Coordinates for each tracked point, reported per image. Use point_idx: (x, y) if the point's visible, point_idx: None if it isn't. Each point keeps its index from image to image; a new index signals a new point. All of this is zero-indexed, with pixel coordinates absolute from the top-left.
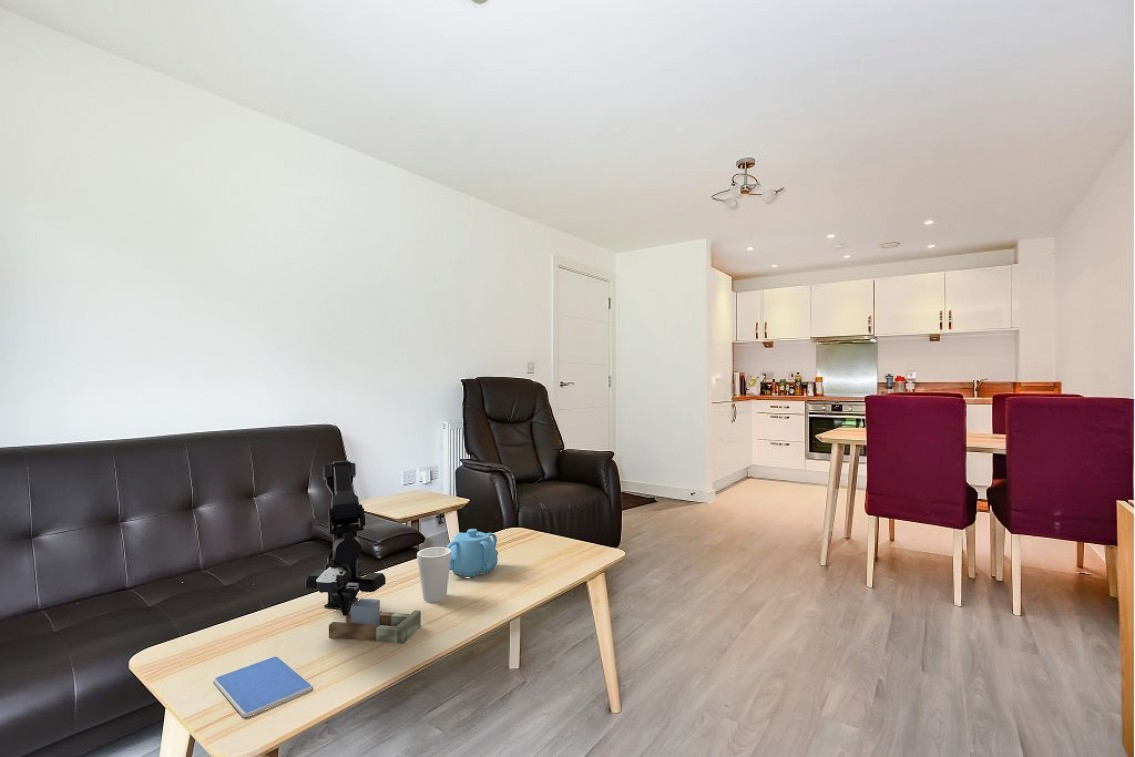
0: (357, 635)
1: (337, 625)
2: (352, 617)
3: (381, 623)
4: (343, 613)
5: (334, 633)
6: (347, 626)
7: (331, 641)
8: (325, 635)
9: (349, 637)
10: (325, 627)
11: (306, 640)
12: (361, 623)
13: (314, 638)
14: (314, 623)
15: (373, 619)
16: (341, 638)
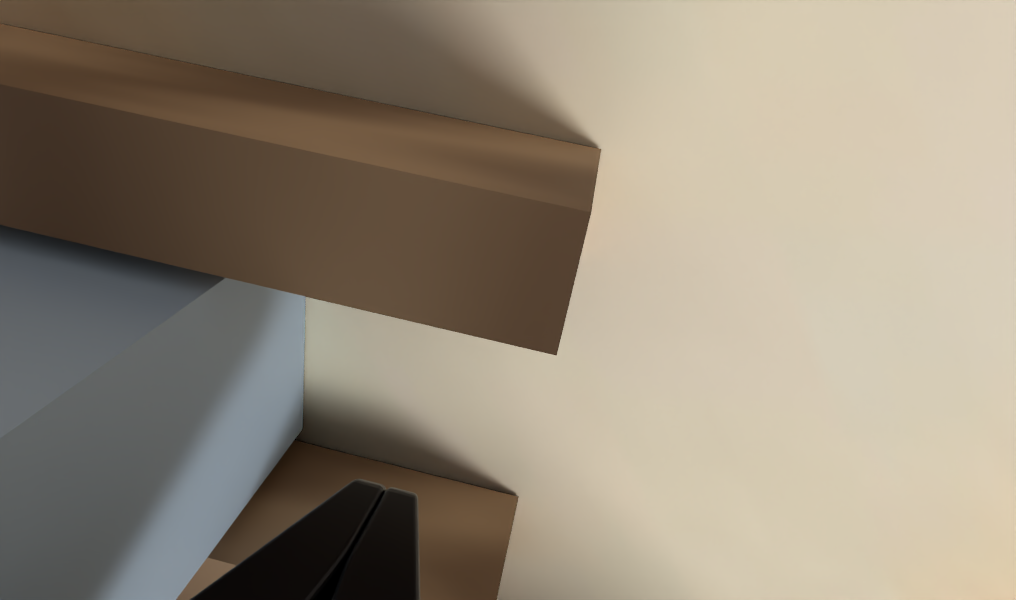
0: (69, 54)
1: (383, 174)
2: (104, 336)
3: None
4: (388, 518)
5: (485, 141)
6: (149, 114)
7: (498, 6)
8: (685, 226)
9: (236, 79)
10: (774, 461)
11: (982, 56)
12: (3, 244)
13: (844, 130)
14: (975, 582)
15: None
16: (382, 105)
